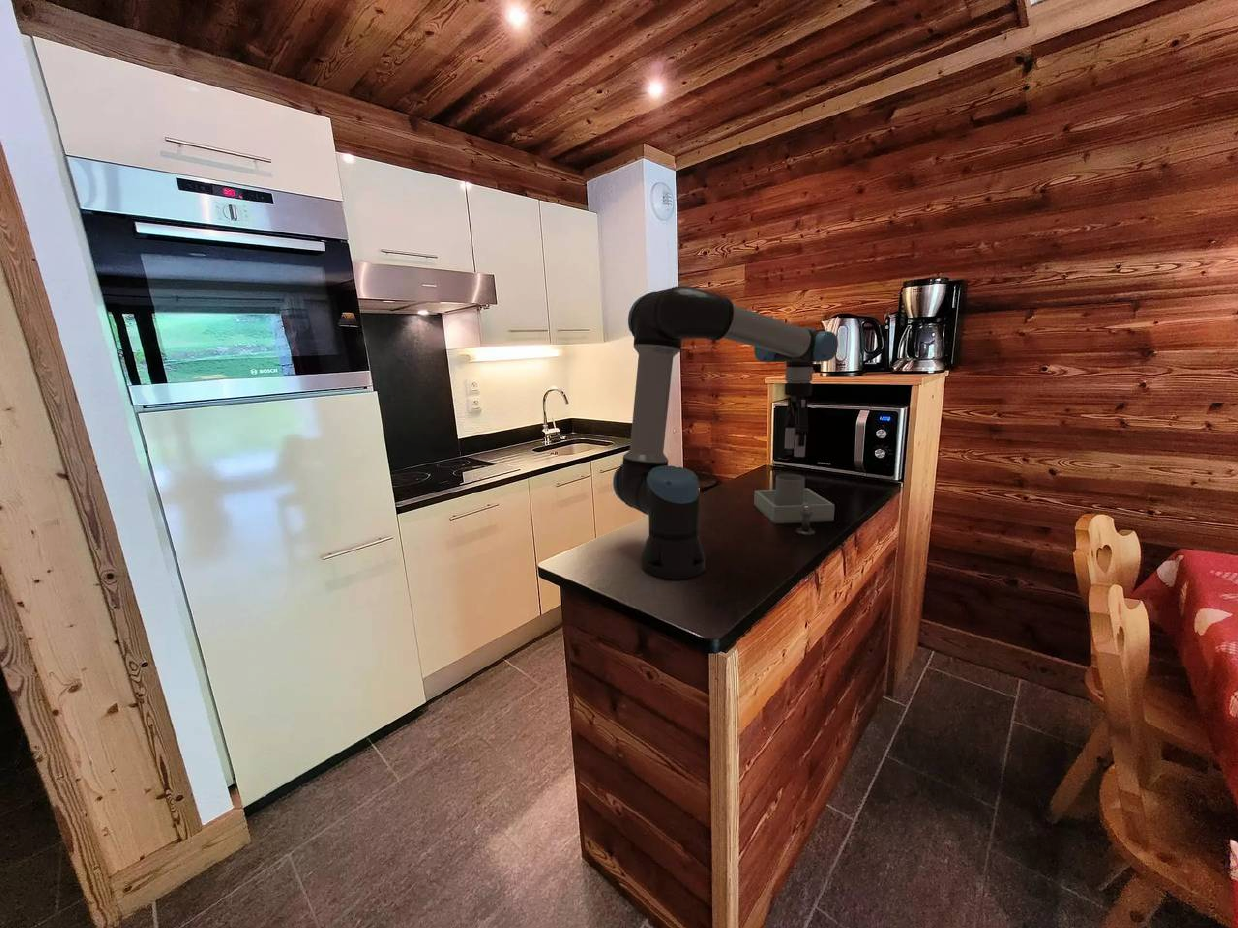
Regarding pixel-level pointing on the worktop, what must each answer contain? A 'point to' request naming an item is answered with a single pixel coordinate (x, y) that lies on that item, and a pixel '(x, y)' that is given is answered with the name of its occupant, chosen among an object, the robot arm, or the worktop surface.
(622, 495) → the robot arm
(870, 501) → the worktop surface
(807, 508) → the stud post
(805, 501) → the bin
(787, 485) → the mug
